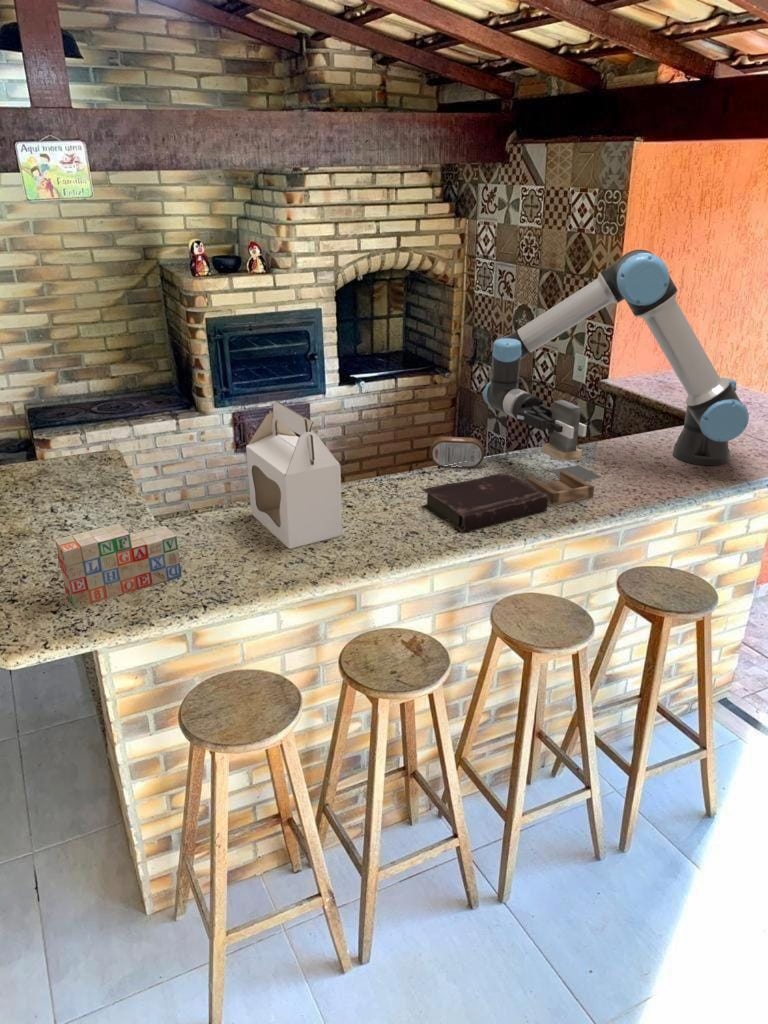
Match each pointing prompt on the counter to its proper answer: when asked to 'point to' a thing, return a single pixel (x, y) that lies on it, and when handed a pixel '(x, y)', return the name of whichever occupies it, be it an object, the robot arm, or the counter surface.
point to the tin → (457, 451)
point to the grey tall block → (559, 443)
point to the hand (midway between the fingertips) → (578, 432)
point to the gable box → (293, 480)
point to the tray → (563, 488)
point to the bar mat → (577, 472)
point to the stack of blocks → (116, 562)
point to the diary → (484, 501)
